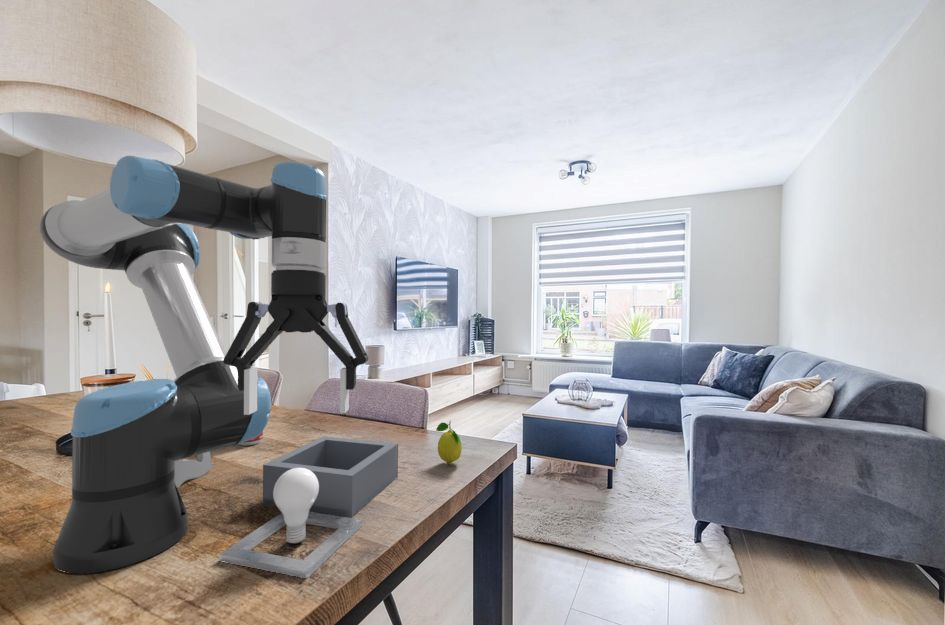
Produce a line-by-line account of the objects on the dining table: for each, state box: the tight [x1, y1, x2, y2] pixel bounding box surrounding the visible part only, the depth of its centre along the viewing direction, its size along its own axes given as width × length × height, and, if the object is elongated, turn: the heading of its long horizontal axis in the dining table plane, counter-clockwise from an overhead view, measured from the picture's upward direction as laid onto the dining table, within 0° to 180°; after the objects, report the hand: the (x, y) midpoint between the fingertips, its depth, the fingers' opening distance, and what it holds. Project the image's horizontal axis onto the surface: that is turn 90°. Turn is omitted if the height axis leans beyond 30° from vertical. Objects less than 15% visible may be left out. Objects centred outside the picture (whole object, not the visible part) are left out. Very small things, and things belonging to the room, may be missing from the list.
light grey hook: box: [175, 451, 214, 489], centre depth 85 cm, size 6×1×10 cm
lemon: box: [435, 420, 463, 465], centre depth 95 cm, size 7×6×10 cm
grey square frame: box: [218, 511, 363, 579], centre depth 62 cm, size 14×14×1 cm
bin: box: [262, 435, 399, 518], centre depth 81 cm, size 18×18×7 cm
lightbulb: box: [273, 468, 319, 545], centre depth 62 cm, size 6×6×11 cm
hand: (298, 412), depth 62 cm, fingers open, 13 cm apart
